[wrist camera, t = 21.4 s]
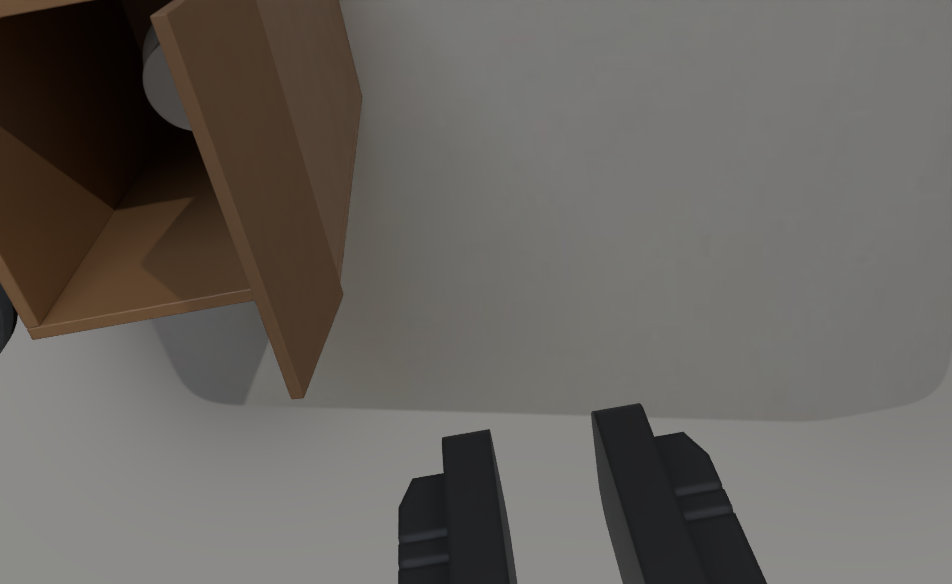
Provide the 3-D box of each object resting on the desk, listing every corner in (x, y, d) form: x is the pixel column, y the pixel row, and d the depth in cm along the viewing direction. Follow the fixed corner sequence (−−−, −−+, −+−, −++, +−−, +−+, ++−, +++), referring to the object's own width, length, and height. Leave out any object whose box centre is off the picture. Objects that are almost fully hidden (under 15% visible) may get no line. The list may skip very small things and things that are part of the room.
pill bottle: (158, 34, 42) (99, 98, 34) (211, -54, 40) (162, -9, 32) (251, 97, 44) (217, 171, 36) (306, 15, 42) (284, 75, 34)
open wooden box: (308, -123, 39) (241, -47, 23) (362, 97, 45) (340, 285, 28) (83, -81, 39) (-147, 25, 23) (166, 133, 45) (32, 340, 29)
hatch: (230, -40, 22) (244, -42, 22) (332, 295, 28) (344, 294, 28) (148, 16, 18) (165, 13, 18) (290, 399, 23) (304, 399, 23)
